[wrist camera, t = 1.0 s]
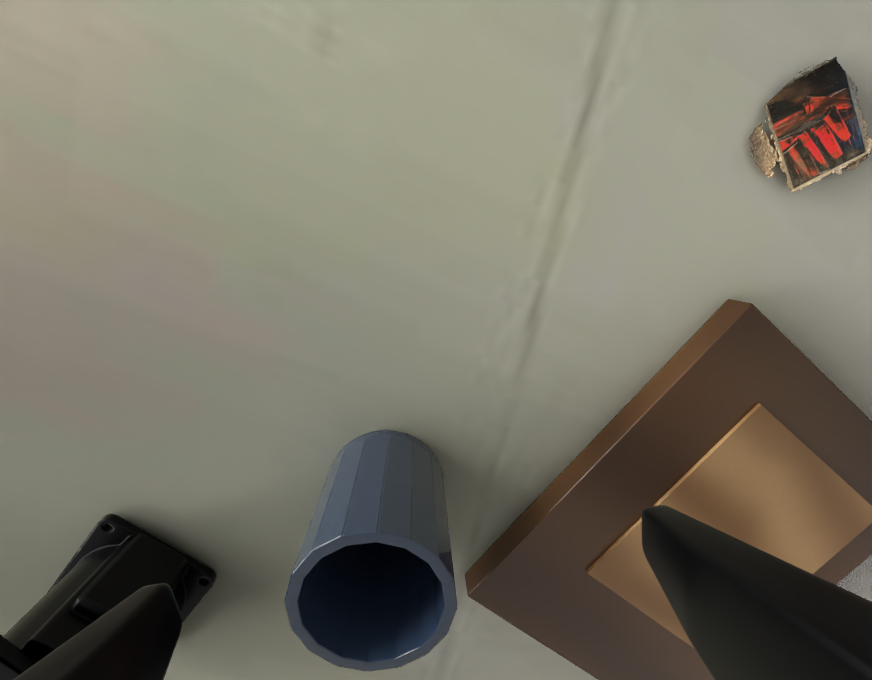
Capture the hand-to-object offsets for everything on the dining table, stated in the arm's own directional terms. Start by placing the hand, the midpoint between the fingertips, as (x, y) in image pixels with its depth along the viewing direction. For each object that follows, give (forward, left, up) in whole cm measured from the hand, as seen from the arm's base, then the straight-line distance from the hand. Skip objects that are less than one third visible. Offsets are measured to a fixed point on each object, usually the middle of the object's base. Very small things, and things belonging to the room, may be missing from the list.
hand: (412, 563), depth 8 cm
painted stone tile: (+19, -7, -13) cm, 24 cm away
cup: (-6, -3, -13) cm, 14 cm away
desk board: (+2, -18, -13) cm, 22 cm away
